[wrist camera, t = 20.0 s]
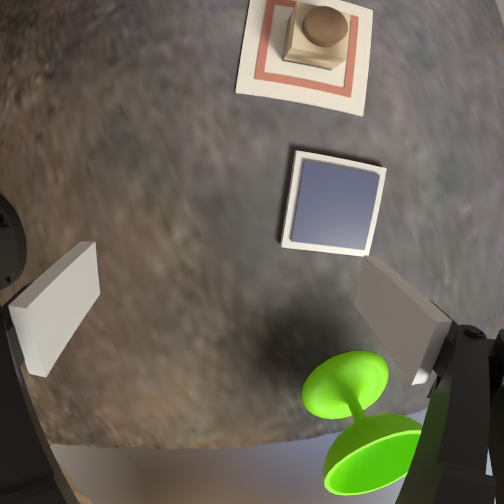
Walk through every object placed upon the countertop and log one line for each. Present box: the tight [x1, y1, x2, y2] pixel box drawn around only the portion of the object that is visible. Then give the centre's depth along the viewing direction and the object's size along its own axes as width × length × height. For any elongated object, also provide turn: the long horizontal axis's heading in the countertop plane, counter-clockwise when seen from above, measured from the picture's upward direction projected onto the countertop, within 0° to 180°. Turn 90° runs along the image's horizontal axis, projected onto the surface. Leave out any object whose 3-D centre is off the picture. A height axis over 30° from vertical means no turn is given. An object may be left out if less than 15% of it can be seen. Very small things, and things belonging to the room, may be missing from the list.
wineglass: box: [301, 350, 423, 495], centre depth 42 cm, size 16×16×18 cm
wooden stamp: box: [283, 1, 351, 71], centre depth 29 cm, size 6×6×8 cm
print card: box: [235, 0, 373, 116], centre depth 33 cm, size 16×16×1 cm
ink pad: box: [280, 150, 386, 256], centre depth 39 cm, size 12×12×2 cm
